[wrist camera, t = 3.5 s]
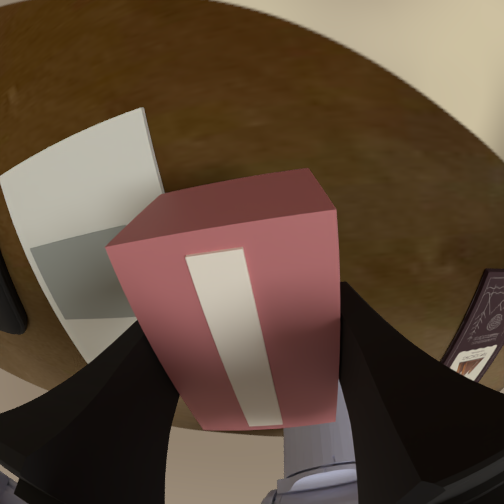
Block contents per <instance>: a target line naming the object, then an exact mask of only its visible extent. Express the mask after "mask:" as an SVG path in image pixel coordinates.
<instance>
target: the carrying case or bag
mask: <svg viewBox="0 0 504 504" xmlns="http://www.w3.org/2000/svg"><path fill="white" fill-rule="evenodd" d="M26 329H27V317H26V313H25V311H24V308H23V306H22V304H21V302H20V300H19V297H18V295H17V293H16V290H15V288H14V286H13V283H12V281H11V278H10V276H9V273H8V270H7V268H6V265H5V262H4V260H3V257H2V254H1V251H0V330H1V331H4V332H7V333H10V334H19V335H20V334H23V333H24V332H25V331H26Z"/></svg>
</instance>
